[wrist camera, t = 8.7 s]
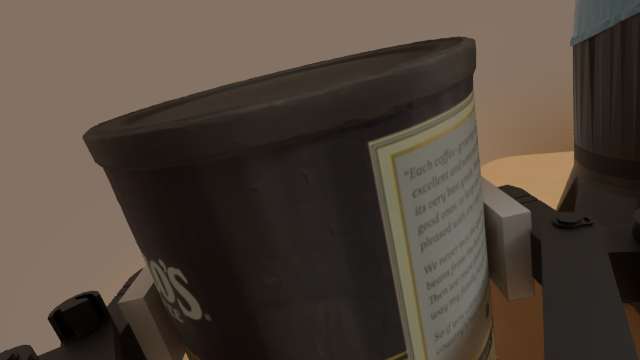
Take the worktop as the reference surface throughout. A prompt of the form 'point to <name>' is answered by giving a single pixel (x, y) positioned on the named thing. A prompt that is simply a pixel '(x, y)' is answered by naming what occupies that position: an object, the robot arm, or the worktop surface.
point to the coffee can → (315, 209)
